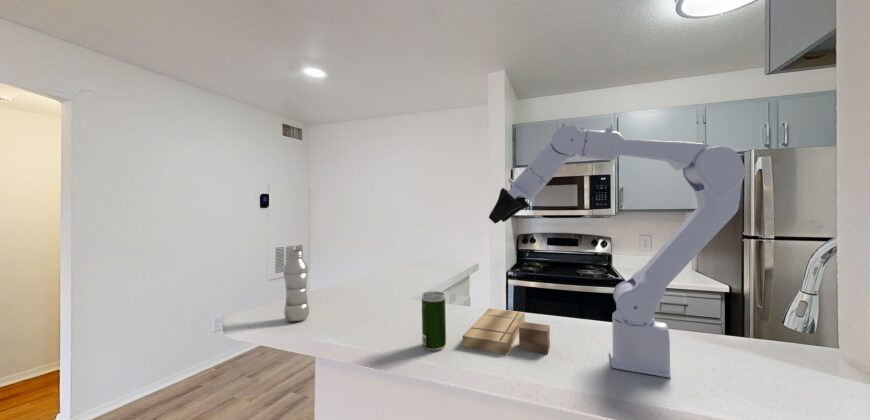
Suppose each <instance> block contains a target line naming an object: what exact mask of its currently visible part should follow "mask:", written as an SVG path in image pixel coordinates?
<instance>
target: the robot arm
mask: <svg viewBox="0 0 870 420" xmlns="http://www.w3.org/2000/svg"><path fill="white" fill-rule="evenodd" d="M709 147H710V148H709ZM707 148H708V149H707ZM576 156H579V158H585V159H591V160H592V159H593V160H602V161H612V162H613V161H615V160H616V159H618V158H620V157H621V156H625V157H632V158H640V159H647V160H655V161H662V162H666V163H668V164H669V166H671V167H672V168H673V169H674V170H675V171H676V172H677V171H680V170H682V175H683V178H684V180H686V182H687V183H688V184H689V186H690V188H691V187H692V189H693V191H694V193H695V198H696V201H697V204H698V206H697V207H696V208H695V209H694V211H692V213H691V214H690V215H689V216H688V217H687V218H686V220H684V222H683V223H682V224H681V225H680V226H679V227H678V228H677V230H675V232H674V233H673V234H672V235H671V236H670V237H669V238H668V239H667V240H666V242H665V243H664V244H663V245H662V246H661V247H660V248H659V250H657V252H656V253H655V254H654V255H653V256H652V257H651V258H650V259H649V261H647V263H646V264H645V265H644V266H643V267H642V268H641V269H639V270H638V271H636V272H635V273H633V274H632V275H631V277H630V278H628V279H627V280H625V281H621V282H619V283H617V285H616V286H615V287H614V289H613V292H612V293H613V295H612V296H613V300H614V302H615V307H616V310H615V311H613V312H612V317H611V318H612V349H610V350H609V358H610V363H611V367H612V368H613V369H617V370H620V371H621V370H622V371H629V372H634V373H640V374H647V375H653V376H657V377H663V378H671V377H672V374H671V345H670V344H671V342H670V341H671V340H670V332H669V327H668V324H667V323H665V322H664V321H663V322H661V321H658V320H655V318H654V316H655V313H656V308H657V306H658V304H659V303H660V302H661V301H662V299H663V297H664V295H665V293H666V289H667V287H668V286H669V285H670V284H671V283H672V282H673V281H674V279H676V278H677V277H678V275H680V274H681V272H682V271H683V270H684V269H685V268H686V267H687V266H688V265H689V264H690V262H692V261H693V260H694V258H696V257H697V255H698V254H699V253H700V252H701V251H702V250H703V249H704V248H705V246H706V245H707V244H708V243H709V242H711V240H712V239H713V238H714V237H715V236H716V235H717V234H718V233H719V232H720V230H722V229H723V228H724V226H725V225H726V224H727V223H728V222H729V221H730V220H731V219H733V217H734V216H735V215H736V213H737V212H738V211H739V208H740V200H741V194H742V193H741V192H742V187H743V186H742V185H743V181H744V178H745V177H746V174H747V170H746V167H745V164H744V163H743V160H742V158H741V155H740V154H739V153H738V152H737V151H736V150H734V149H733V148H730V147H727V146H720V145H717V146H713V147H711V144H707V143H704V142H703V143H701V142H689V141H673V140H672V141H668V140H652V139H651V140H650V139H646V140H645V139H629V138H628V139H627V138H625V137H623V135H622V134H621V133H620V132H619V131H614V128H613V127H612V128H611V127H606V129H605V130H597V129H596V130H595V129H586V127H585V126H580V128H578V126H575V125H573V124H572V125H571V124H570V125H564V126H563V125H562V126H560V127H559V128H557V129H556V130H555V131H554V132H553V134H552V136H551V141H549V142H548V144H545V147H544V148H543V149H542V150H541V151H540V152H538V154H537V155H536V156H535V157H534V158H533V160H532V161H531V162H530V163H528V165H527V167H525V169H524V170H522V172H521V173H520V174H519V175H518V176H517V178H515V180H513V179H512V178H509V179H507V181H508V182H509V183H510V186H511V188H509V190H507V189H506V188H504V187H502V188H501V189H500V191H499V196H498V197H497V198H498V199H497V201H496V202H495V205H494V206H493V208H492V210H491V212H490V214H489V216H488V219H489V220H491V222H493V223H494V224H497V223H499V222H503V223H504V222H506V221H508V220H509V219H510V218H512V217H513V216H514V215H516V214H517V213H519V212H521V211H523V210H525V209H526V208H529V207H530V206H531V204H530V203H529V202H533V201H534V200H535V199H534V198H535V197H537V195H538V194H539V193H540V192H541V191H542V190H543V189H544V187H546V185H547V184H548V183H549V182H550V181H551V180H552V179H553V178H554V177H555V176H556V174H558V172H559V171H560V170H561V169H562V168H563V166H564V165H565V163H566V162H567V161H568V160H570V158H574V157H576ZM527 200H528V201H529V202H528V201H527Z"/></svg>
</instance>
